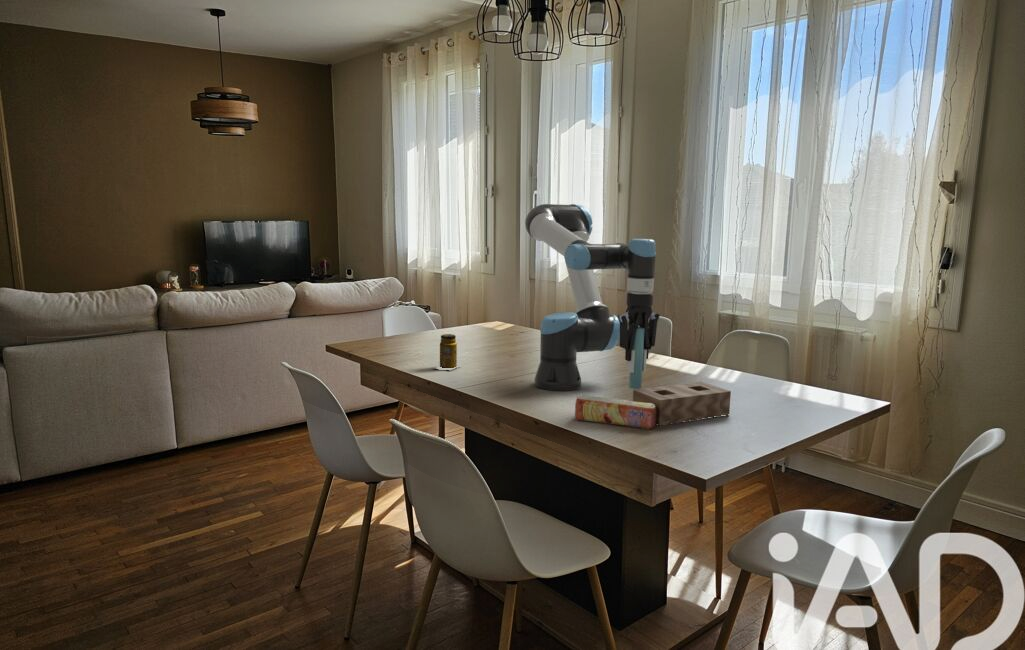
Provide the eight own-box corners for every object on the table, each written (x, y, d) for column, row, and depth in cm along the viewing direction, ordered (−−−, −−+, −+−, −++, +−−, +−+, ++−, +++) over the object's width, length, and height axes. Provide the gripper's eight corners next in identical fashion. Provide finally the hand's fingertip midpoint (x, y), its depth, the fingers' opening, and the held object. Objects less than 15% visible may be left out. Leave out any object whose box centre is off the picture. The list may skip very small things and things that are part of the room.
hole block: (659, 426, 179) (660, 400, 178) (632, 414, 190) (633, 389, 189) (729, 415, 189) (730, 391, 188) (699, 405, 200) (701, 381, 199)
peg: (633, 389, 201) (636, 329, 198) (626, 386, 204) (629, 327, 201) (643, 388, 202) (647, 328, 199) (636, 385, 205) (639, 326, 202)
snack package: (656, 424, 181) (658, 400, 180) (652, 431, 175) (653, 406, 174) (579, 415, 188) (580, 391, 187) (572, 422, 182) (573, 397, 181)
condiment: (461, 367, 247) (461, 334, 245) (450, 371, 239) (450, 338, 237) (443, 365, 249) (443, 332, 248) (431, 369, 242) (431, 336, 240)
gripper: (623, 295, 191) (619, 376, 195) (671, 292, 198) (666, 371, 202) (608, 291, 198) (605, 370, 202) (655, 289, 205) (651, 365, 209)
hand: (636, 370), depth 202 cm, fingers closed on peg, 3 cm apart
